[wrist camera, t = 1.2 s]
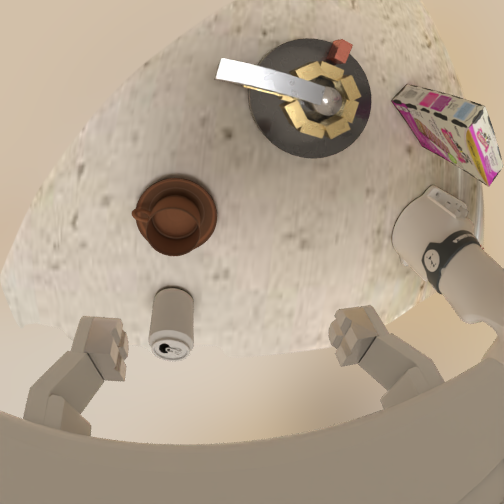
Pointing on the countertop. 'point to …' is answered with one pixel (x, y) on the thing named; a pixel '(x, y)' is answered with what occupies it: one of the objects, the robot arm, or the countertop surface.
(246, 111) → the countertop surface
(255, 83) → the gray slab gold ring
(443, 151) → the candy bar box
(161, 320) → the can
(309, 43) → the cap plate
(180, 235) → the cup and saucer
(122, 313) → the countertop surface
